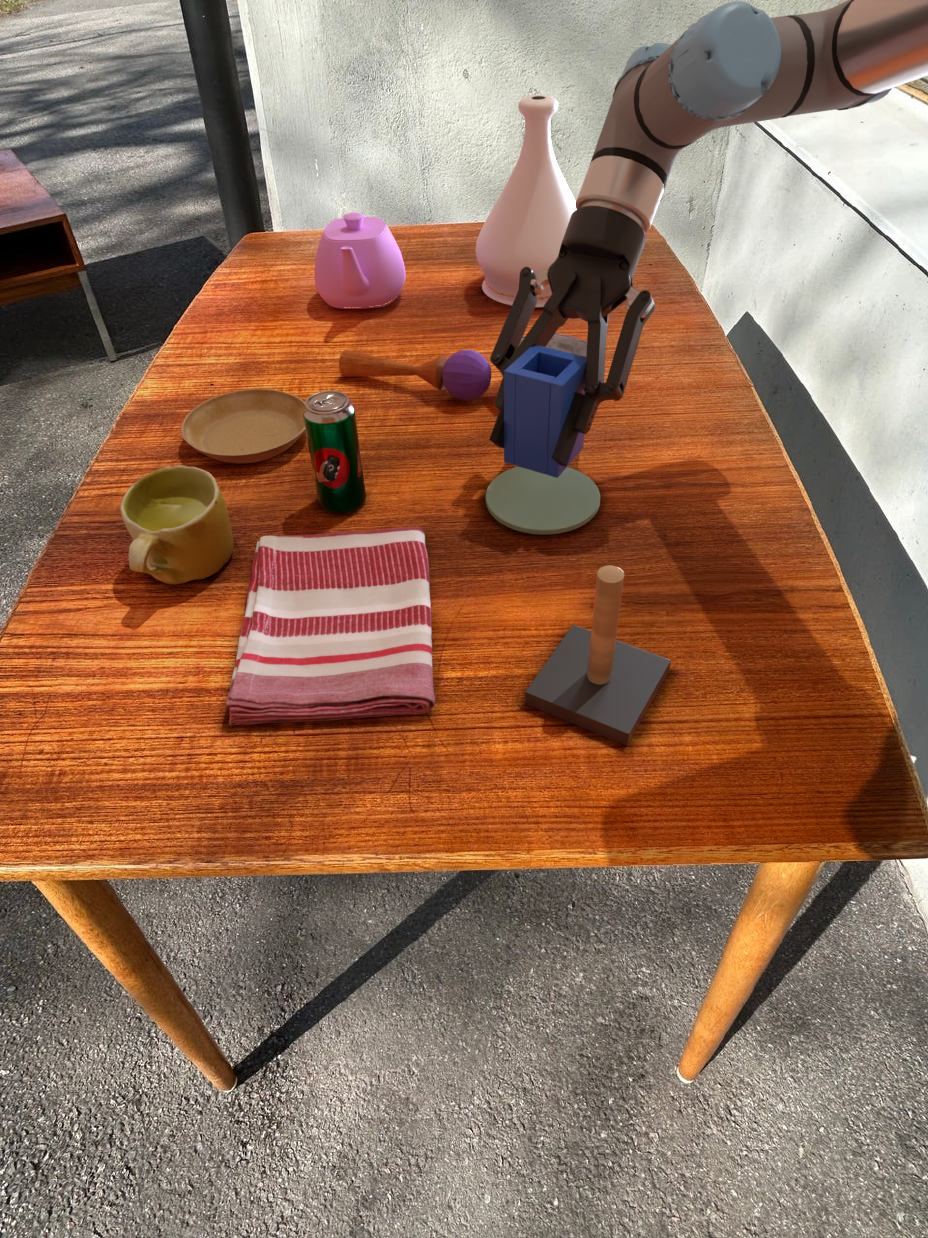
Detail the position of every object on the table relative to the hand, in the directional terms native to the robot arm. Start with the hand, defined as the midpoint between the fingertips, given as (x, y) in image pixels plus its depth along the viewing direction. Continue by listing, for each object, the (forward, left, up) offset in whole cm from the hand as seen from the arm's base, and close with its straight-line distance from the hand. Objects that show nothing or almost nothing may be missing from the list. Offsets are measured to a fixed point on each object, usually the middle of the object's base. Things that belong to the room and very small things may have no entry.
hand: (527, 452), depth 84 cm
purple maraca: (+21, -22, -8) cm, 31 cm away
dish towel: (+11, +20, -8) cm, 25 cm away
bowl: (+5, -26, -8) cm, 27 cm away
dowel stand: (-13, +20, -8) cm, 25 cm away
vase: (+16, -56, -8) cm, 58 cm away
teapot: (+39, -44, -8) cm, 59 cm away
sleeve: (-1, -4, -2) cm, 4 cm away
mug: (+29, +18, -8) cm, 36 cm away
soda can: (+19, +3, -8) cm, 21 cm away
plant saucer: (+35, -5, -8) cm, 37 cm away
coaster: (-1, -4, -8) cm, 9 cm away
